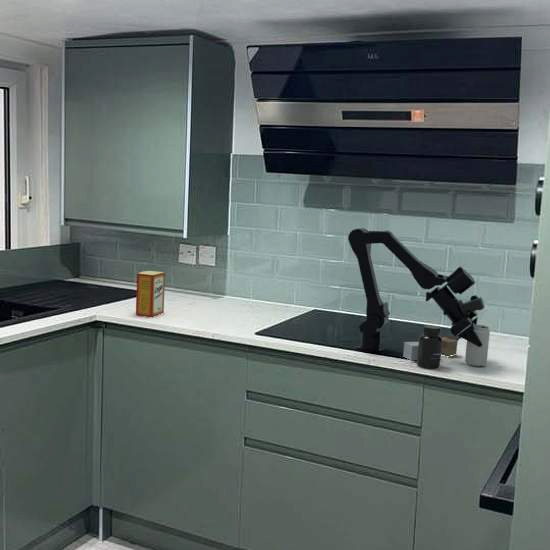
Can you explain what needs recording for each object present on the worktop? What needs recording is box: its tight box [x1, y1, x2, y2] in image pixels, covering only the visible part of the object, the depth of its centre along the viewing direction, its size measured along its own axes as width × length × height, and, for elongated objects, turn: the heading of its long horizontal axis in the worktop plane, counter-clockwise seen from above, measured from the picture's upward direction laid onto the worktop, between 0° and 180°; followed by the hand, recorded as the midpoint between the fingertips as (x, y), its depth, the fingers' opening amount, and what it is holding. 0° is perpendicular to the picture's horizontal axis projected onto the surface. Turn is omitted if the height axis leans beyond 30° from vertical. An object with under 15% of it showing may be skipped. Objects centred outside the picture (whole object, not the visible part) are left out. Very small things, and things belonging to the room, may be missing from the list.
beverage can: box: [464, 324, 491, 367], centre depth 218 cm, size 6×6×12 cm
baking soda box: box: [135, 270, 166, 318], centre depth 267 cm, size 10×6×16 cm
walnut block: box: [441, 336, 458, 356], centre depth 230 cm, size 5×5×5 cm
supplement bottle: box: [416, 325, 443, 370], centre depth 214 cm, size 7×7×12 cm
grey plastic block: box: [402, 341, 419, 362], centre depth 222 cm, size 5×5×5 cm
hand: (482, 344), depth 218 cm, fingers closed on beverage can, 6 cm apart
